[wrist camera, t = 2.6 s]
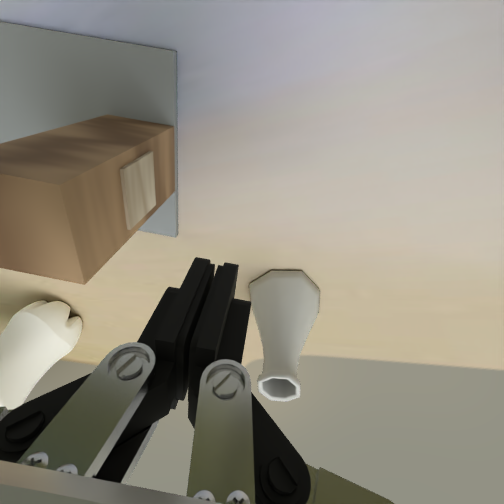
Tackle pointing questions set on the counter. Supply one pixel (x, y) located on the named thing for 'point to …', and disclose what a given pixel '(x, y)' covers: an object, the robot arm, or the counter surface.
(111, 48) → the mat
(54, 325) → the water bottle
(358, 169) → the counter surface
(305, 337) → the flask
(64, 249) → the cardboard box
